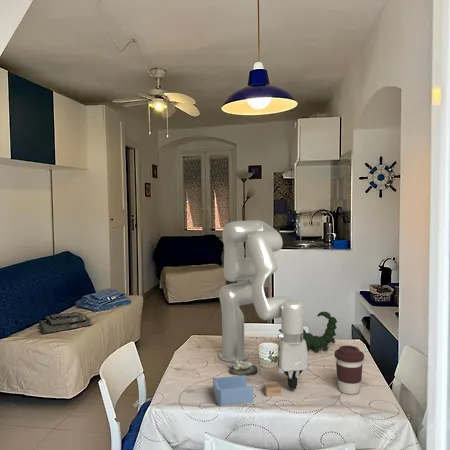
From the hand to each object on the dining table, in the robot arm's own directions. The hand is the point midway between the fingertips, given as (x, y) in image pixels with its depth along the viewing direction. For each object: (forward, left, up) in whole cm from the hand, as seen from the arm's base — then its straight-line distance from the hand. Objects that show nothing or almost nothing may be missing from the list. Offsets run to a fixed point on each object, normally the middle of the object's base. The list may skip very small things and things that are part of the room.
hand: (292, 387), depth 146 cm
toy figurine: (-37, +20, -1) cm, 42 cm away
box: (0, -22, -1) cm, 22 cm away
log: (-21, -13, -2) cm, 24 cm away
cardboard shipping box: (0, -8, -1) cm, 8 cm away
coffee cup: (+4, +19, -1) cm, 20 cm away
